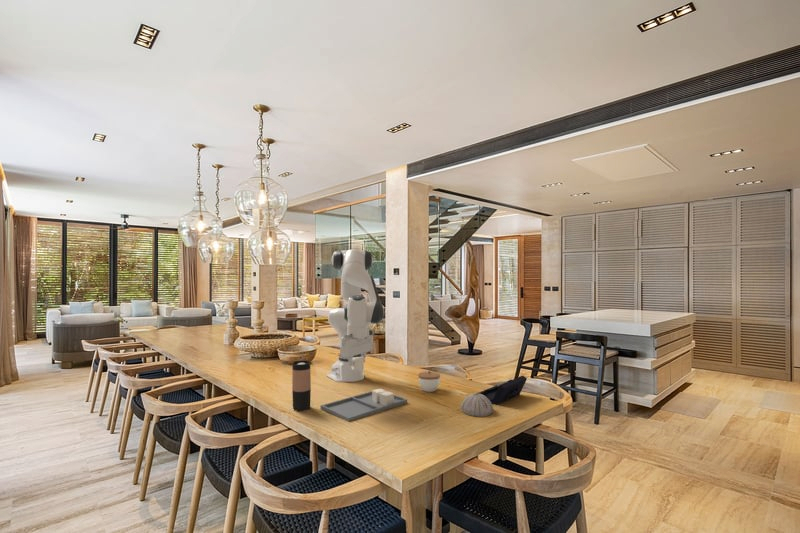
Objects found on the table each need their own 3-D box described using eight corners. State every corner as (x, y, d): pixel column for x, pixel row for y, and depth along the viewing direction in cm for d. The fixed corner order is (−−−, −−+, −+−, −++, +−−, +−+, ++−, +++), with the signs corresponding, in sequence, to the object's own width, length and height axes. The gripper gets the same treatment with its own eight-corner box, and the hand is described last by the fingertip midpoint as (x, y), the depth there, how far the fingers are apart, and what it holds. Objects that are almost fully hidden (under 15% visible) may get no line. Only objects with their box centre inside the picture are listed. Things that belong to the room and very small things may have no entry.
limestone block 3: (379, 403, 174) (379, 393, 174) (387, 401, 177) (387, 391, 177) (386, 406, 171) (386, 395, 171) (394, 403, 174) (394, 393, 174)
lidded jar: (439, 394, 190) (438, 374, 190) (416, 392, 193) (416, 373, 193) (441, 387, 201) (441, 368, 201) (420, 386, 203) (420, 367, 203)
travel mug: (289, 409, 171) (288, 362, 171) (304, 404, 176) (304, 359, 176) (298, 413, 165) (298, 365, 165) (314, 409, 171) (314, 362, 171)
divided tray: (320, 410, 169) (320, 405, 169) (378, 393, 191) (378, 389, 191) (348, 423, 155) (348, 418, 155) (407, 404, 177) (407, 399, 177)
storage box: (496, 390, 197) (496, 370, 197) (527, 397, 185) (527, 376, 185) (472, 400, 182) (472, 378, 182) (504, 409, 171) (504, 385, 171)
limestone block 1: (351, 367, 176) (351, 357, 177) (361, 366, 178) (361, 356, 178) (353, 370, 172) (353, 359, 172) (363, 369, 174) (363, 358, 174)
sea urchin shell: (492, 408, 171) (492, 390, 171) (494, 420, 157) (494, 400, 157) (461, 407, 173) (461, 388, 173) (460, 418, 160) (460, 398, 160)
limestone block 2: (372, 400, 179) (372, 390, 179) (381, 398, 181) (380, 388, 181) (376, 403, 175) (376, 392, 175) (385, 401, 177) (385, 391, 177)
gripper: (348, 336, 165) (348, 370, 164) (375, 330, 182) (375, 360, 182) (336, 335, 168) (336, 368, 168) (364, 329, 186) (364, 359, 185)
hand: (357, 364), depth 175 cm, fingers closed on limestone block 1, 6 cm apart
